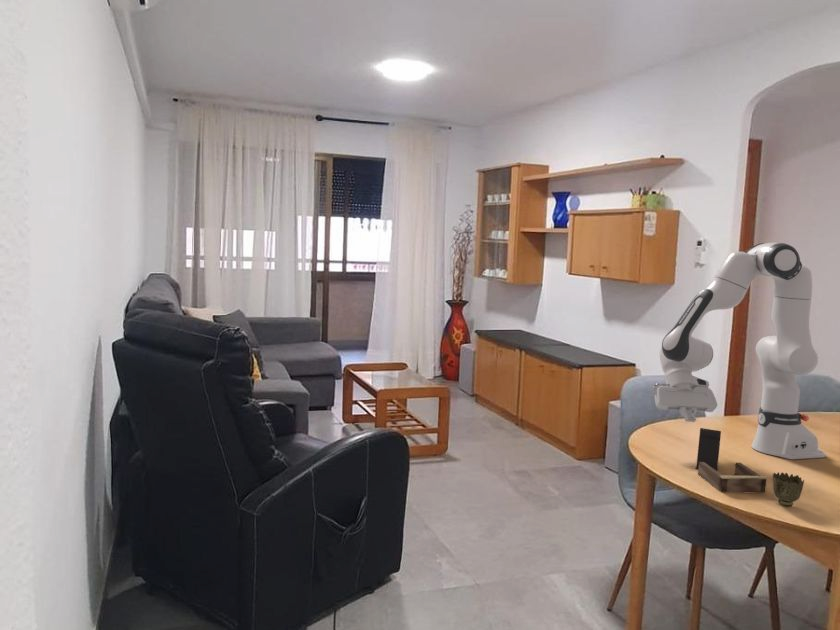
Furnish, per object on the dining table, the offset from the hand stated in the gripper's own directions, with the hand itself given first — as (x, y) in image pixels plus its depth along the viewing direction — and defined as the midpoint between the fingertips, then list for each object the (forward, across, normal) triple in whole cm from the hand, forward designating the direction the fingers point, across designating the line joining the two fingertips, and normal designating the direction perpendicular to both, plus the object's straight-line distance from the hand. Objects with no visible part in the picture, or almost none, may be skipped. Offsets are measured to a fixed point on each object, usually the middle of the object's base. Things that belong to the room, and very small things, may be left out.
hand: (690, 421), depth 217 cm
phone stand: (+16, +1, 0) cm, 16 cm away
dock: (+25, +1, -9) cm, 27 cm away
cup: (+37, +8, -21) cm, 43 cm away
